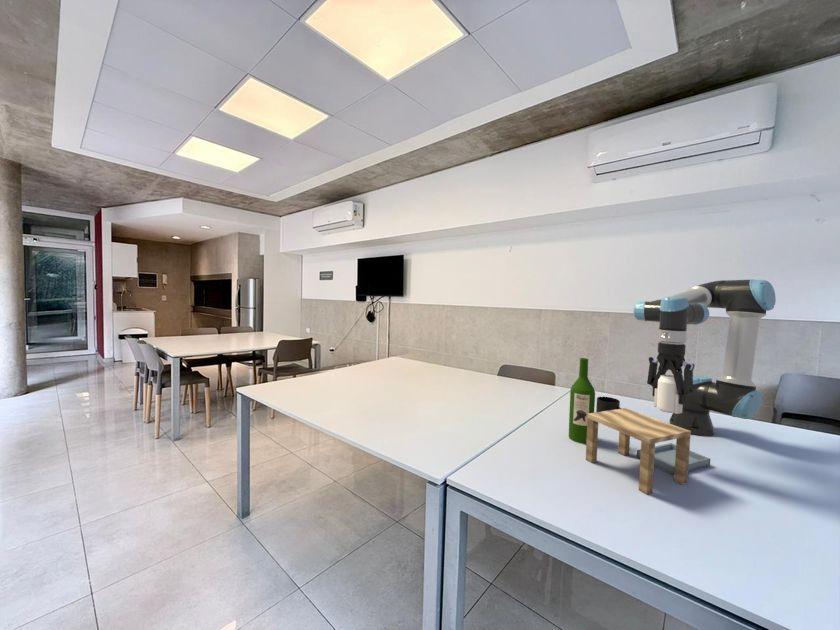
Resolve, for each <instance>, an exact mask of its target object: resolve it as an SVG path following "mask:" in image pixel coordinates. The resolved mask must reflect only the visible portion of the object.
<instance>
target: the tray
mask: <svg viewBox="0 0 840 630" xmlns="http://www.w3.org/2000/svg"><path fill="white" fill-rule="evenodd" d="M640 457H641V448H640V449H636V458H638V459H640ZM675 457H676V443H671V442H669V443H665V444H661V445H660V444H659V445H655V454H654V466H655V467H657V468H658V469H661V470H663V471H665V472H667V473H669V474H671V475H672V476H674V473H675ZM710 466H711V458H709V457H707V456H704V455H702V454H699V453H697V452H695V451H692V450H690V451H689V466H688V473H689V472H692V471H695V470H699V469H703V468H708V467H710Z"/></svg>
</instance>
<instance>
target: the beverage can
mask: <svg viewBox="0 0 840 630" xmlns="http://www.w3.org/2000/svg"><path fill="white" fill-rule="evenodd" d="M677 393H678V390H677V386H676V383H675V379H674V375H673V374H665V375H661V377H660V378H659V379H658V390H657V407H656V408H657V409H658V410H659V411H661V412H663V413H667V414H668V413H669V414H673V413H674V410H675V394H677Z"/></svg>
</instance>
